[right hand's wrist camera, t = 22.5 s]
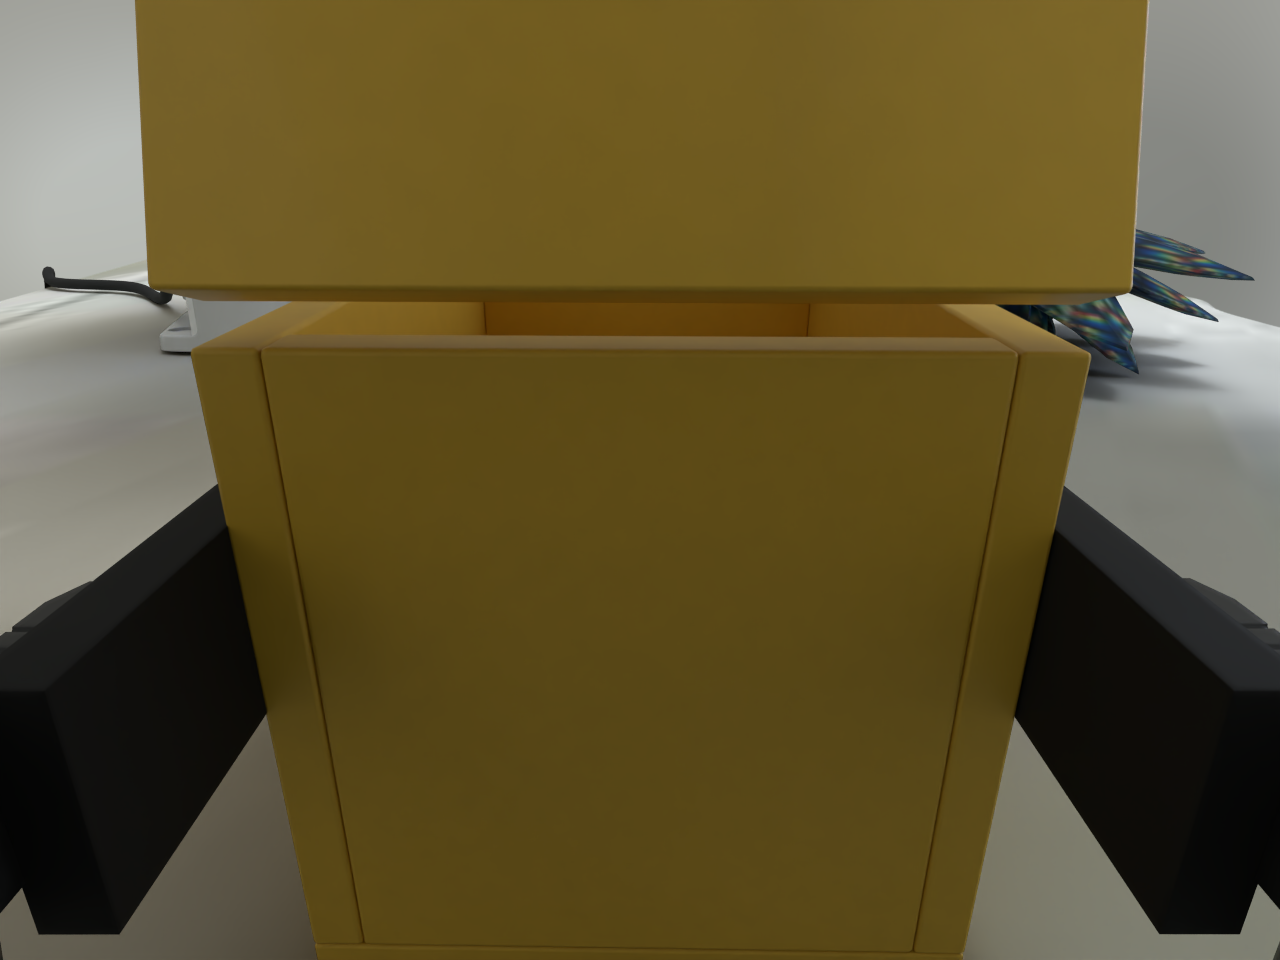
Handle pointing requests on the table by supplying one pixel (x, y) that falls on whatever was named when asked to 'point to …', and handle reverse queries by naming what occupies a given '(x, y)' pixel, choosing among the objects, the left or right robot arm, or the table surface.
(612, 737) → the chest
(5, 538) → the table surface
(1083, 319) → the decorative ornament
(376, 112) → the lid
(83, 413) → the table surface
